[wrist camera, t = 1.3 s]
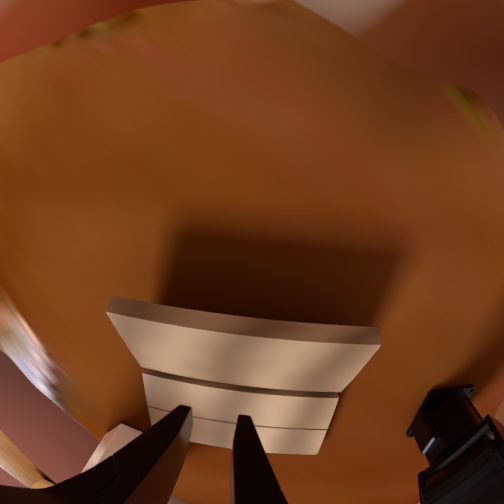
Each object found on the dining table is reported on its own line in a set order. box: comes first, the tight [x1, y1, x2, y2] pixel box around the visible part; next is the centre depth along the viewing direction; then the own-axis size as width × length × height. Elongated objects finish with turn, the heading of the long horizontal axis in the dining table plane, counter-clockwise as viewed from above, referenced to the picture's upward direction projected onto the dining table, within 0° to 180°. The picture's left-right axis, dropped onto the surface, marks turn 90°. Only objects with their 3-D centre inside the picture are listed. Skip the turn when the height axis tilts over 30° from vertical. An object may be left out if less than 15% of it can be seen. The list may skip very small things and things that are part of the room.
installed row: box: [142, 368, 339, 454], centre depth 22 cm, size 16×9×2 cm, turn 85°
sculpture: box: [30, 480, 55, 488], centre depth 31 cm, size 11×12×11 cm
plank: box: [106, 296, 381, 392], centre depth 18 cm, size 16×8×1 cm, turn 85°
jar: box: [82, 424, 143, 472], centre depth 20 cm, size 9×8×12 cm
